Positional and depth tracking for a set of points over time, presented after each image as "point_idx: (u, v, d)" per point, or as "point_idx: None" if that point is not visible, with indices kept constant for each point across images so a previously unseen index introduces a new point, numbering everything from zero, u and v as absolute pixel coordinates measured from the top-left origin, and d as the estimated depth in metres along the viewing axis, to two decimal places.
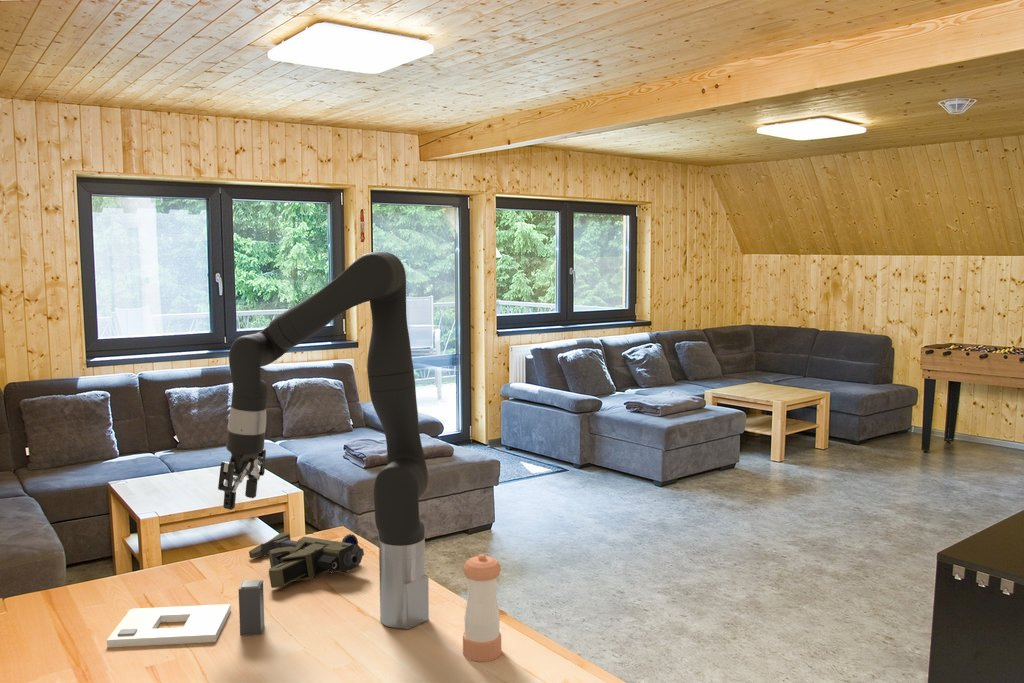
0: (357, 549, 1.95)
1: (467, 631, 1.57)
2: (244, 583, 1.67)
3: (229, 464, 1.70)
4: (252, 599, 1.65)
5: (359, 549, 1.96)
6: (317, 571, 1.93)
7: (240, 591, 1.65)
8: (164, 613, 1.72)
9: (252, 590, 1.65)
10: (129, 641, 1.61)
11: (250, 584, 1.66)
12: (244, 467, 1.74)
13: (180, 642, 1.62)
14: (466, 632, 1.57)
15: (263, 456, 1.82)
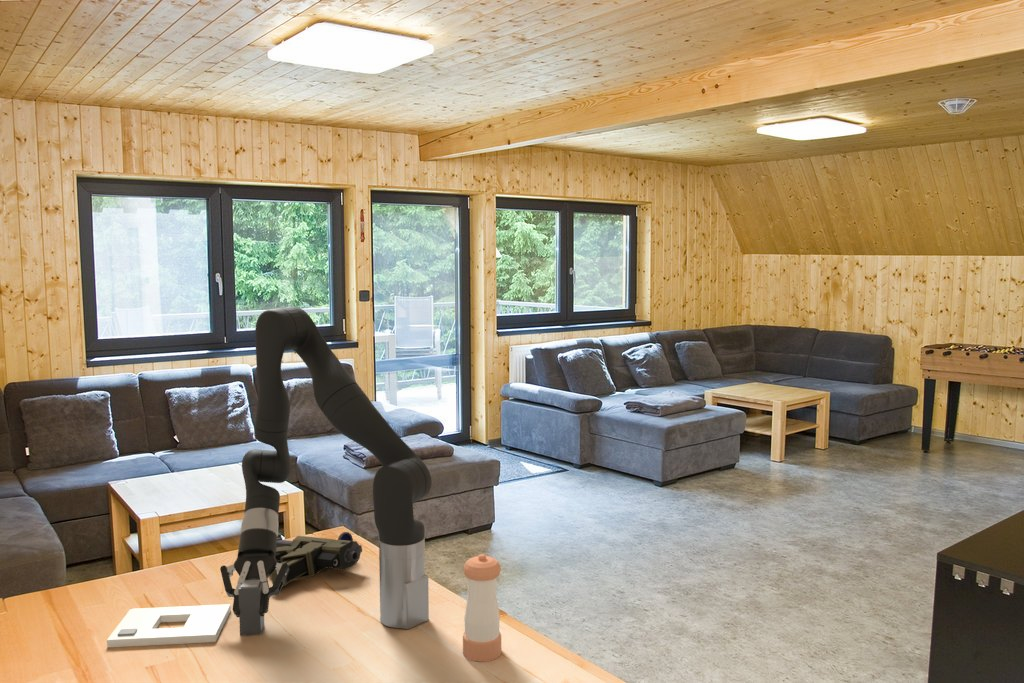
0: (356, 546, 1.97)
1: (467, 631, 1.57)
2: (244, 583, 1.67)
3: None
4: (252, 599, 1.65)
5: (357, 545, 1.98)
6: (317, 569, 1.94)
7: (240, 591, 1.65)
8: (164, 613, 1.72)
9: (252, 590, 1.65)
10: (129, 641, 1.61)
11: (250, 584, 1.66)
12: None
13: (180, 642, 1.62)
14: (466, 632, 1.57)
15: (281, 569, 1.71)
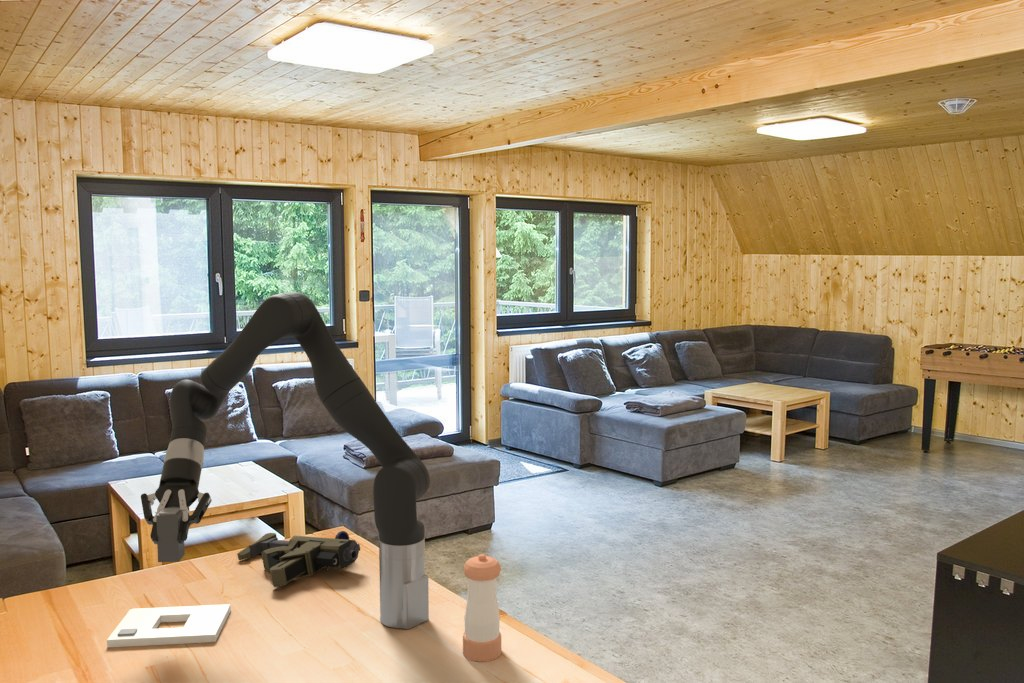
0: (354, 544, 1.98)
1: (467, 631, 1.57)
2: (163, 510, 1.66)
3: None
4: (170, 525, 1.65)
5: (355, 544, 1.99)
6: (316, 568, 1.94)
7: (158, 517, 1.64)
8: (164, 613, 1.72)
9: (170, 517, 1.64)
10: (129, 641, 1.61)
11: (169, 511, 1.66)
12: None
13: (180, 642, 1.62)
14: (466, 632, 1.57)
15: (203, 498, 1.70)
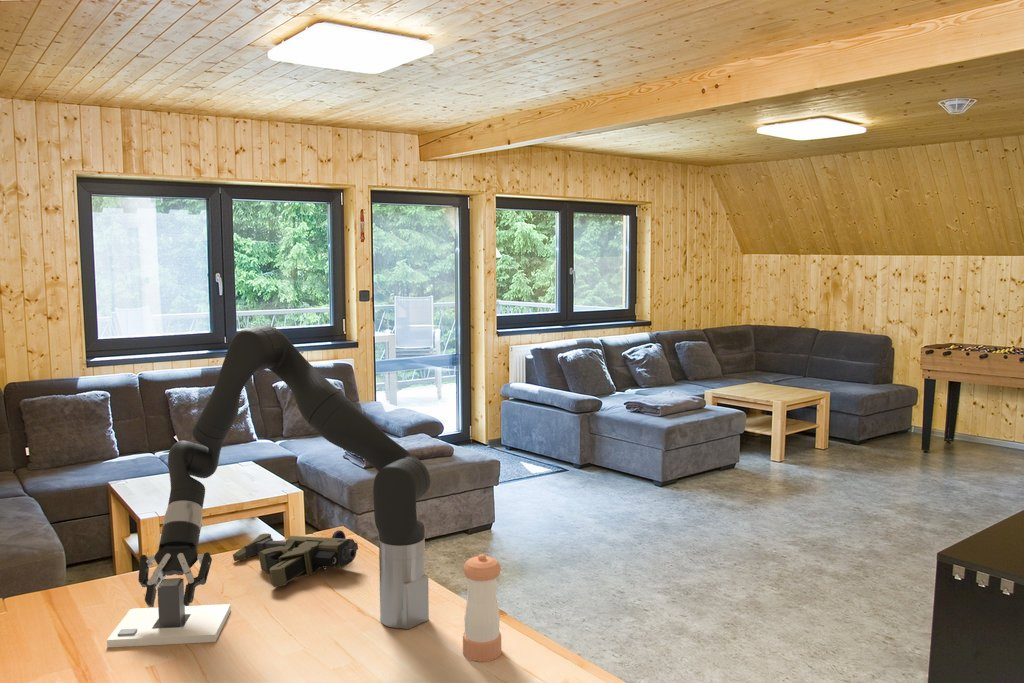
0: (352, 543, 1.99)
1: (467, 631, 1.57)
2: (164, 582, 1.67)
3: None
4: (171, 597, 1.66)
5: (353, 543, 2.00)
6: (314, 568, 1.95)
7: (159, 589, 1.66)
8: None
9: (171, 588, 1.66)
10: (129, 641, 1.61)
11: (170, 582, 1.67)
12: None
13: (180, 642, 1.62)
14: (466, 632, 1.57)
15: (204, 559, 1.72)
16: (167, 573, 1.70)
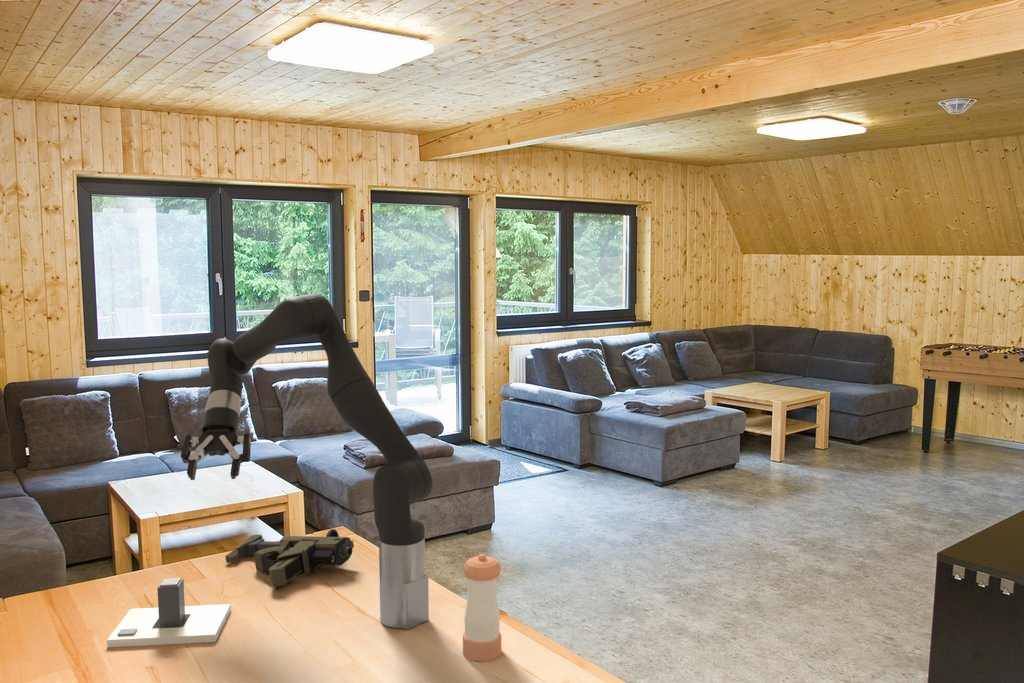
0: (348, 542, 2.00)
1: (467, 631, 1.57)
2: (164, 582, 1.67)
3: None
4: (172, 597, 1.66)
5: (349, 541, 2.01)
6: (312, 567, 1.95)
7: (159, 589, 1.66)
8: None
9: (171, 588, 1.66)
10: (129, 641, 1.61)
11: (170, 582, 1.67)
12: None
13: (180, 642, 1.62)
14: (466, 632, 1.57)
15: (245, 438, 1.86)
16: (208, 453, 1.84)
